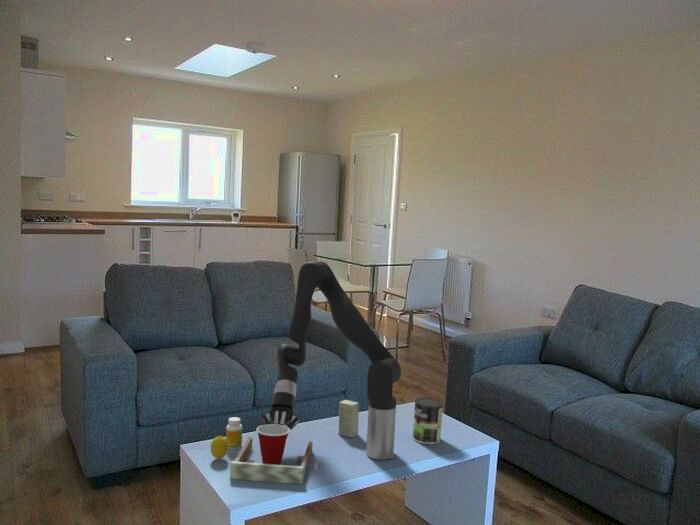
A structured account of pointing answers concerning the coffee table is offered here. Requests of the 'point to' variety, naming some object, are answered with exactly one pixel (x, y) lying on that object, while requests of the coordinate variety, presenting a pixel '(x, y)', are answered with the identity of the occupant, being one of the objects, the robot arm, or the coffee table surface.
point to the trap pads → (299, 460)
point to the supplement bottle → (234, 433)
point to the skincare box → (348, 418)
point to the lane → (268, 468)
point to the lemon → (219, 447)
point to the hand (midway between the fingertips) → (276, 443)
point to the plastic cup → (272, 442)
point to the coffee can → (427, 420)
